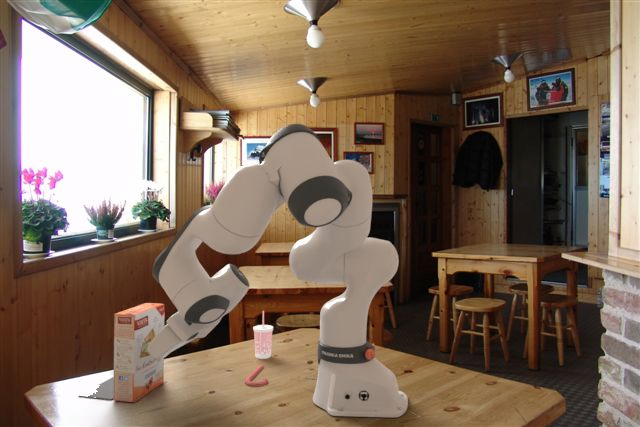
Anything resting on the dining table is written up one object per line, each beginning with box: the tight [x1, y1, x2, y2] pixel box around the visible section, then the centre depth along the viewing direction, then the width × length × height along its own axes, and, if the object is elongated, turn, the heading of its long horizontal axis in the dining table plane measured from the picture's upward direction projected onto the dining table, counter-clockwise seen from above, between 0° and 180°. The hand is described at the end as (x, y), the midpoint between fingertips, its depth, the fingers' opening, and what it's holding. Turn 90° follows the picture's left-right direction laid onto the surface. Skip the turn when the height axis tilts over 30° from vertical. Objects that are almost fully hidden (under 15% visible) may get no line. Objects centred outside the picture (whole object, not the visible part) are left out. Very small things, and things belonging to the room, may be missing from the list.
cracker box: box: [113, 302, 166, 403], centre depth 124 cm, size 14×6×21 cm, turn 168°
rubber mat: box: [88, 376, 114, 401], centre depth 126 cm, size 9×13×1 cm
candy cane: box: [244, 364, 269, 388], centre depth 136 cm, size 6×15×2 cm, turn 169°
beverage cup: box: [252, 310, 274, 360], centre depth 153 cm, size 6×6×14 cm
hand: (159, 356), depth 122 cm, fingers closed
